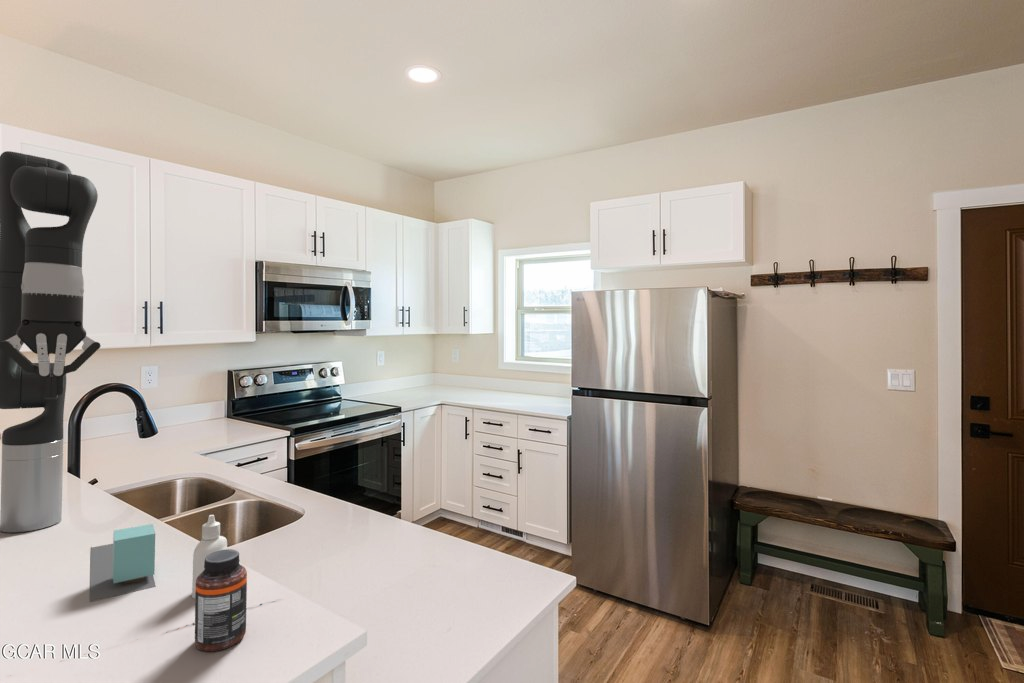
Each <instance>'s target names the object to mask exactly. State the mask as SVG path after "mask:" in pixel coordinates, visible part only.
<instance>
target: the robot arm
mask: <svg viewBox="0 0 1024 683" xmlns="http://www.w3.org/2000/svg"><path fill="white" fill-rule="evenodd" d="M98 196H99V194H98V190H97V188H96V187H95V185H94V183H93V182H92V181H91V180H90V179H88V178H87V177H85V176H83V175H77V174H73V173H72V171H71V169H70V168H69V166H67V165H66V163H63V162H61V161H58V160H56V159H50V158H45V157H41V156H36V155H32V154H27V153H22V152H16V151H11V150H10V151H8V150H7V151H3V152H2V153H1V154H0V410H15V409H16V410H17V409H18V410H20V409H35V408H36V409H37V408H39V409H40V408H43V412H42V413H41V414H39V415H37V416H35V417H33V418H32V419H29V420H27V421H23V422H21V423H18V424H15V425H11V426H9V427H7V428H5V429H4V430H3V431H2V435H1V471H0V472H1V474H0V475H1V477H0V478H1V479H0V531H1V532H4V533H23V532H24V533H25V532H31V531H36V530H41V529H44V528H49V527H50V526H53V525H57V524H58V523H59V522H61V521H62V515H63V514H62V512H63V479H64V478H63V476H64V475H63V474H64V473H63V472H64V467H63V466H64V416H65V415H64V412H65V411H64V410H65V402H66V391H67V375H68V374H69V373H74V372H76V371H77V370H79V368H81V366H83V365H84V364H85V363H86V362H87V360H89V359H90V358H91V357H92V356H93V355H94V354H95V353H96V352H97V351H98V350H99V349H100V348H101V343H100V342H98V341H95V340H93V339H91V338H90V337H89V336H87V331H86V330H85V328H84V322H83V321H84V292H85V288H84V275H83V246H84V239H85V234H86V231H87V228H88V225H89V222H90V219H91V218H92V216H93V213H94V211H95V208H96V206H97V203H98ZM23 210H26V211H29V212H33V213H35V212H36V213H42V214H47V215H48V214H49V215H54V216H55V215H56V216H62V217H68V221H67V222H66V223H65V224H63V225H59V226H40V227H39V226H38V227H32V228H31V226H30V224H29V222H28V220H27V219H26V217H25V215H24V212H23ZM81 342H82V343H83V344H82V346H81V349H82V350H83V351H82V353H81V354H79V355H78V356H77V357H76V359H74V360H73V361H72V362H71V363H70V364H67V365H66V358H67V355H68V354H69V353H71V352H72V351H74V349H75V348H76V347H77V346H78V345H79V344H81ZM23 345H25V346H26V347H27V348H28V349H29V350H30V351H31V352H32V353H34V354H37V362H32V361H31V360H30V359H29V358H27V357H26V355H24V354H23V353H22V352H21V351H20V350H21V348H22V346H23ZM50 354H51V355H52V354H53V355H54V362H50Z"/></svg>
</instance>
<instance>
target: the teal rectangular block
mask: <svg viewBox="0 0 1024 683" xmlns="http://www.w3.org/2000/svg"><path fill="white" fill-rule="evenodd" d="M112 539H113V540H112V541H113V542H112V544H113V584H114V583H118V582H123V581H127V580H132V579H136V578H141V577H145V576H150V575H153V576H154V575H155V571H156V570H155V567H156V565H155V564H156V563H155V562H156V561H155V559H156V531H155V527H154V523H151V524H150V523H148V524H144V525H137V526H133V527H127V528H121V529H115V530H113V538H112Z"/></svg>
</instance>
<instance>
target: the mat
mask: <svg viewBox="0 0 1024 683" xmlns="http://www.w3.org/2000/svg"><path fill="white" fill-rule="evenodd" d="M89 565H90V566H89V567H90V569H89V571H90V573H89V578H90V579H89V603H93V602H96V601H101V600H104V599H110V598H113V597H118V596H123V595H126V594H129V593H134V592H139V591H143V590H148V589H151V588H155V587H157V586H156V582H155V577H154V575H150V576H145V580H140V581H136V582H131V583H127V584H124V581H123V582H118V583H114V584H113V543H109V544H103V545H102V544H101V545H99V546H91V547H90V564H89Z"/></svg>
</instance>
